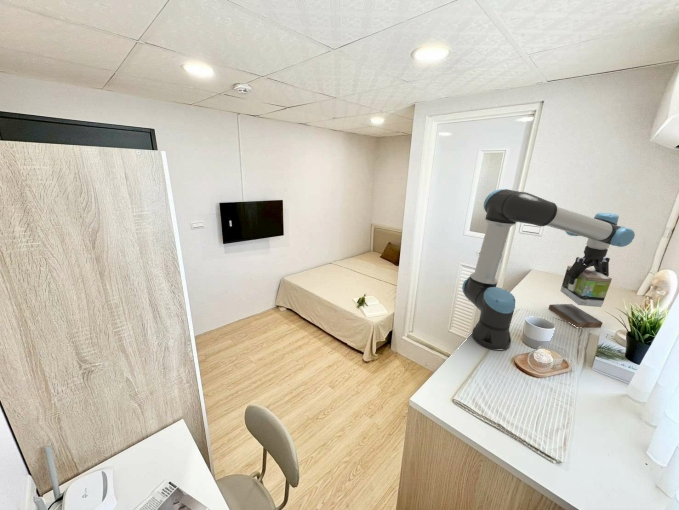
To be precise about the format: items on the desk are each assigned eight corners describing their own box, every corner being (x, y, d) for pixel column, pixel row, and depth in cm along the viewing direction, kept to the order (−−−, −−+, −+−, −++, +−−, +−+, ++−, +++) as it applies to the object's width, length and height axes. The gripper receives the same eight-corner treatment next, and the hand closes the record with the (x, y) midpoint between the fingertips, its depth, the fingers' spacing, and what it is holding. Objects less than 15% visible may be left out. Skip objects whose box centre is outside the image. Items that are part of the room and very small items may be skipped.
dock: (575, 328, 124) (577, 322, 123) (548, 309, 140) (549, 304, 139) (600, 327, 124) (602, 322, 123) (570, 308, 140) (571, 303, 139)
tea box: (602, 307, 120) (613, 278, 115) (577, 305, 122) (587, 277, 117) (581, 292, 134) (590, 266, 129) (559, 291, 136) (566, 264, 131)
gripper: (613, 243, 123) (598, 285, 130) (564, 245, 123) (552, 286, 130) (630, 248, 116) (613, 292, 123) (579, 250, 115) (565, 294, 123)
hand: (582, 289), depth 127 cm, fingers closed on tea box, 11 cm apart
